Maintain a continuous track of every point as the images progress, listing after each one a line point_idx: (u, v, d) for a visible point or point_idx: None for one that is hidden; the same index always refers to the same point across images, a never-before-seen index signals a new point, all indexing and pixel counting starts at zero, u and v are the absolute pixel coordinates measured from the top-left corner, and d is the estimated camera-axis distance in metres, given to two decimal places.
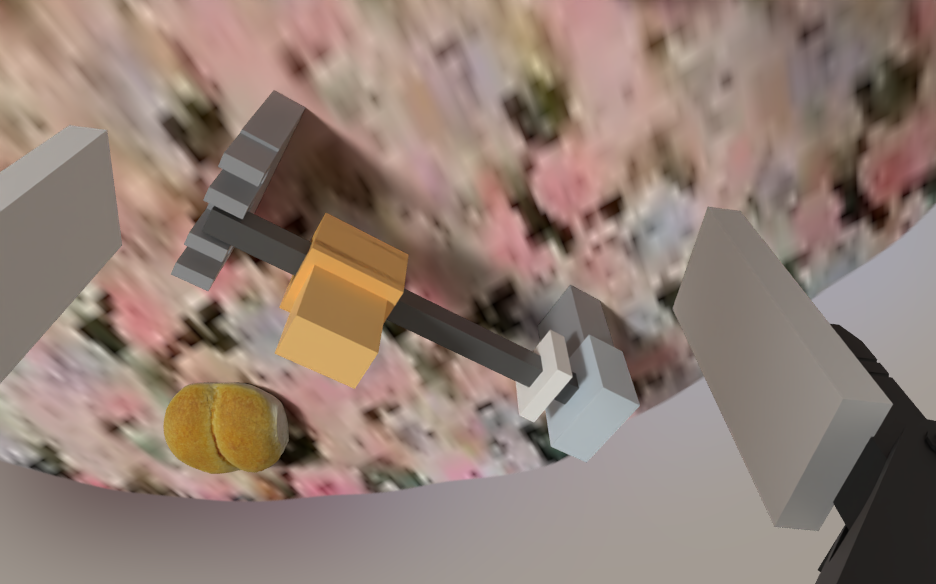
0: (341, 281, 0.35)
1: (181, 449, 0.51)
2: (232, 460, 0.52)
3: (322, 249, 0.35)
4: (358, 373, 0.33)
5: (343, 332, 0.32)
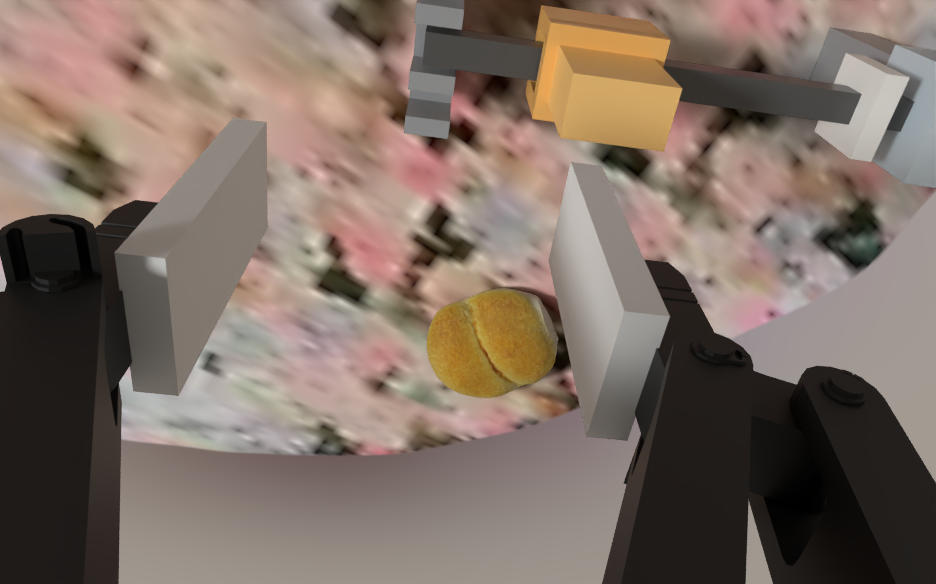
0: (596, 51, 0.29)
1: (456, 375, 0.48)
2: (511, 371, 0.48)
3: (562, 22, 0.29)
4: (664, 127, 0.26)
5: (632, 79, 0.26)
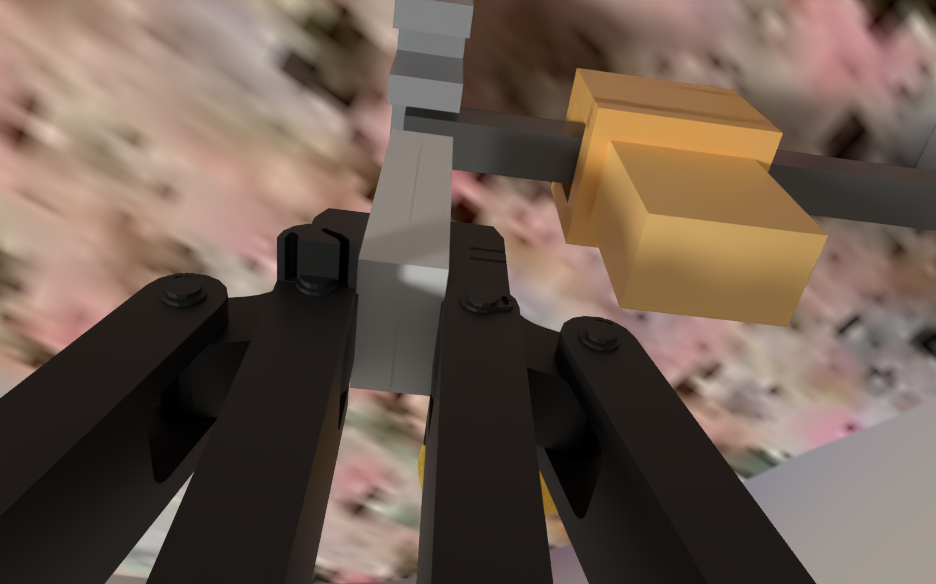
0: (668, 151, 0.19)
1: None
2: None
3: (615, 106, 0.19)
4: (791, 293, 0.16)
5: (744, 218, 0.15)
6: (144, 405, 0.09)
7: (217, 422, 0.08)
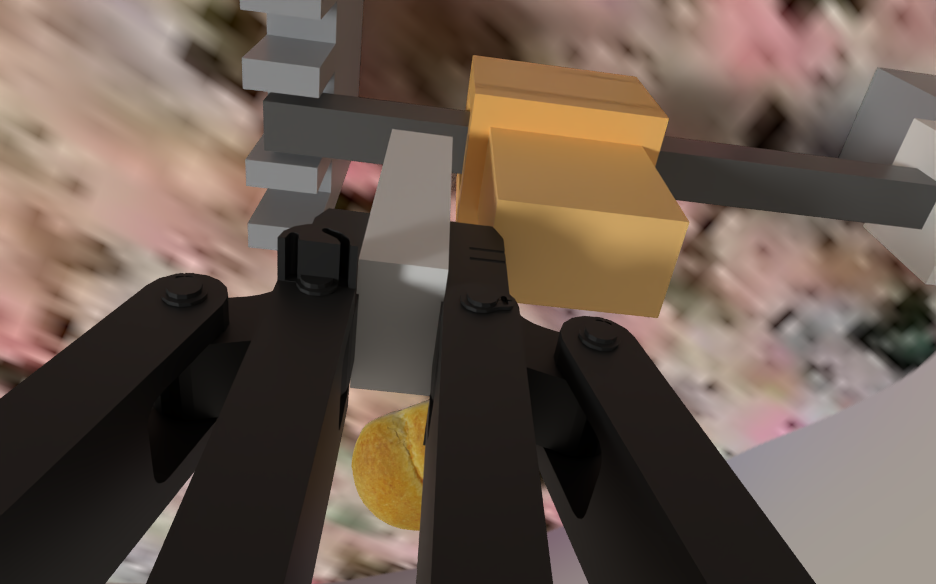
0: (549, 138, 0.18)
1: (388, 511, 0.37)
2: None
3: (494, 92, 0.18)
4: (658, 282, 0.15)
5: (603, 205, 0.15)
6: (145, 405, 0.09)
7: (217, 422, 0.08)
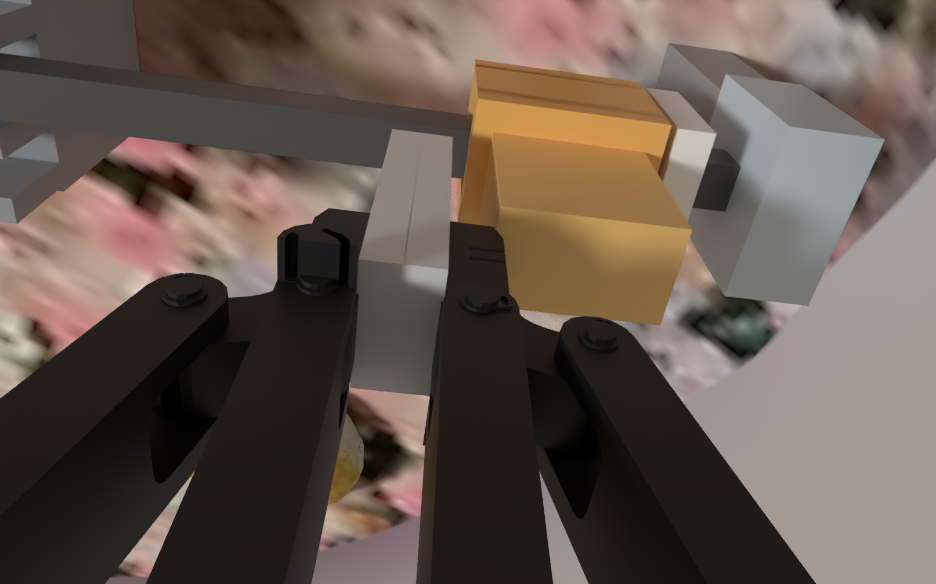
0: (551, 143, 0.18)
1: None
2: None
3: (496, 97, 0.18)
4: (660, 290, 0.15)
5: (605, 212, 0.15)
6: (145, 405, 0.09)
7: (217, 422, 0.08)
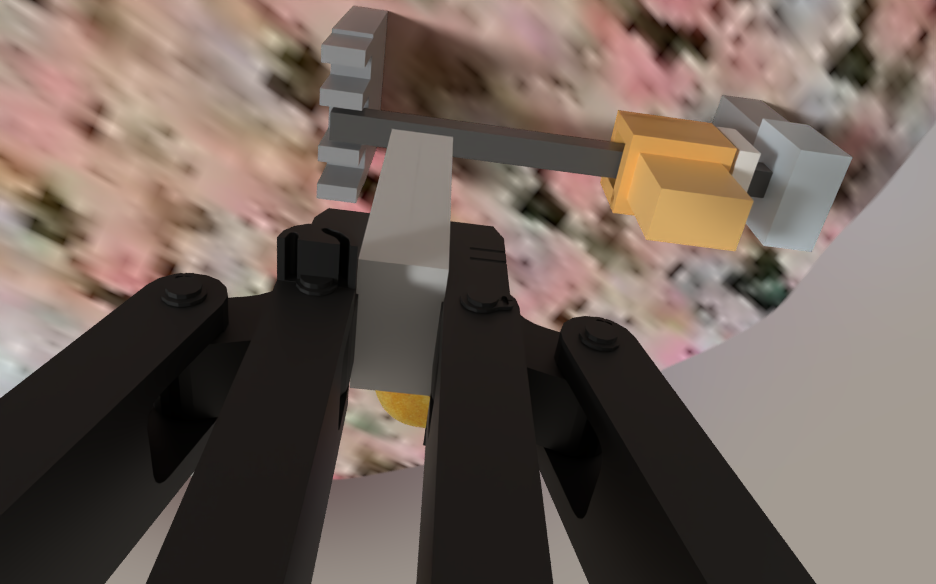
0: (672, 158, 0.33)
1: (399, 408, 0.51)
2: None
3: (642, 133, 0.33)
4: (736, 232, 0.31)
5: (710, 192, 0.30)
6: (145, 405, 0.09)
7: (217, 422, 0.08)
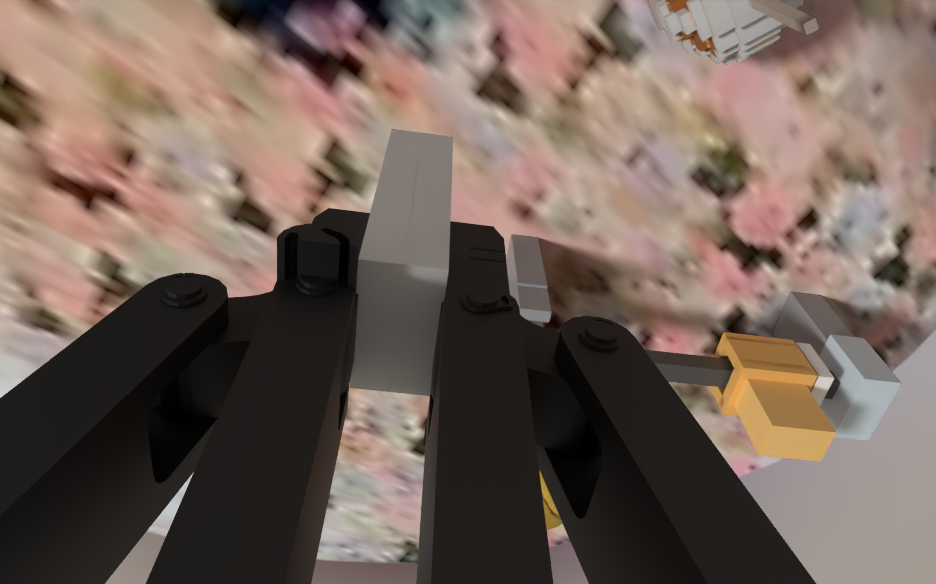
0: (770, 383, 0.46)
1: None
2: None
3: (749, 365, 0.46)
4: (822, 450, 0.43)
5: (806, 425, 0.42)
6: (145, 405, 0.09)
7: (217, 422, 0.08)
